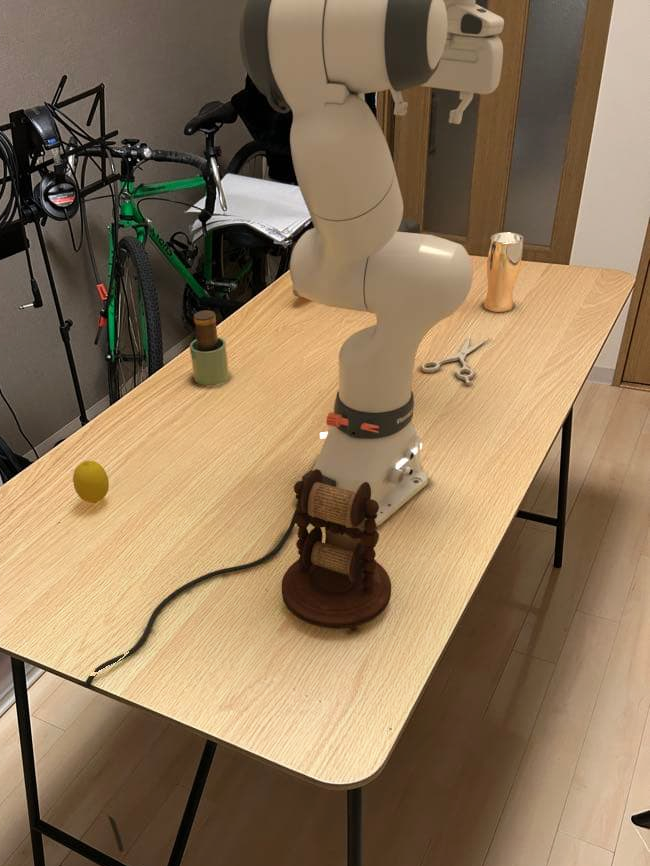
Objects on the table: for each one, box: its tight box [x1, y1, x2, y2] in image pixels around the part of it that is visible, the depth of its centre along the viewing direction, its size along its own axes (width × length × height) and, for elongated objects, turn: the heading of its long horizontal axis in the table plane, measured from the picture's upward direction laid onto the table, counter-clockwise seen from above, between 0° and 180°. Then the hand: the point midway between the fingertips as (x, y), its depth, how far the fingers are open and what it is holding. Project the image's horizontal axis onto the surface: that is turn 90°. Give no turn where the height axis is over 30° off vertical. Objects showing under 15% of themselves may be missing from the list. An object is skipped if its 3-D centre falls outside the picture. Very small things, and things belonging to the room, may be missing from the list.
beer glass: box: [483, 231, 524, 313], centre depth 175 cm, size 7×7×15 cm
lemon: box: [72, 460, 110, 504], centre depth 132 cm, size 6×6×8 cm
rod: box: [193, 310, 219, 352], centre depth 159 cm, size 4×4×13 cm
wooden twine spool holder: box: [281, 469, 392, 633], centre depth 106 cm, size 15×15×20 cm
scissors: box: [421, 333, 491, 386], centre depth 162 cm, size 11×1×20 cm
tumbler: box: [189, 336, 230, 386], centre depth 161 cm, size 7×7×8 cm
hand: (426, 119), depth 131 cm, fingers open, 8 cm apart
